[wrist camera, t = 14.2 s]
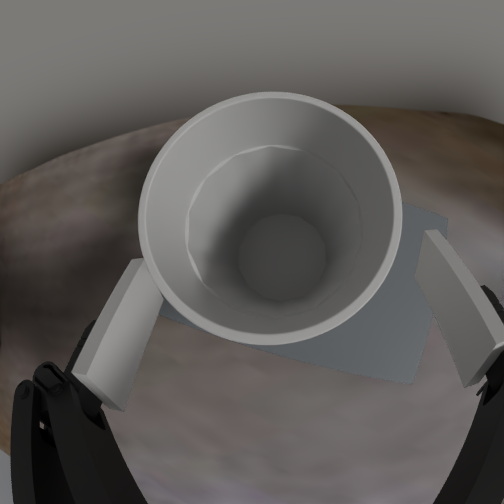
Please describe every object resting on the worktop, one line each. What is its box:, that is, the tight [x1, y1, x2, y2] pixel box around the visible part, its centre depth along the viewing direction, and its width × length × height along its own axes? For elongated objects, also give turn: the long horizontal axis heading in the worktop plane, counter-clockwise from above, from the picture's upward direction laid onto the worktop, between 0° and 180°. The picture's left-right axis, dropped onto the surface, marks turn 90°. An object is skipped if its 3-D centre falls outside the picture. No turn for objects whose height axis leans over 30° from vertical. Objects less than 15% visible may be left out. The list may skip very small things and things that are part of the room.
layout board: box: [158, 202, 448, 384], centre depth 20 cm, size 20×13×1 cm, turn 74°
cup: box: [138, 92, 402, 345], centre depth 14 cm, size 8×8×12 cm
